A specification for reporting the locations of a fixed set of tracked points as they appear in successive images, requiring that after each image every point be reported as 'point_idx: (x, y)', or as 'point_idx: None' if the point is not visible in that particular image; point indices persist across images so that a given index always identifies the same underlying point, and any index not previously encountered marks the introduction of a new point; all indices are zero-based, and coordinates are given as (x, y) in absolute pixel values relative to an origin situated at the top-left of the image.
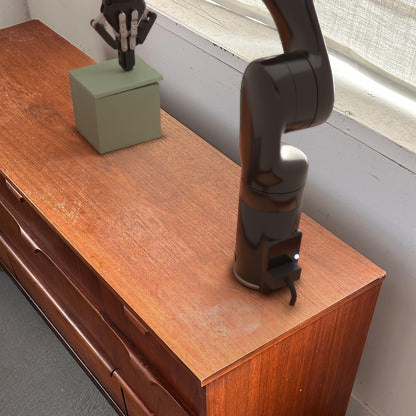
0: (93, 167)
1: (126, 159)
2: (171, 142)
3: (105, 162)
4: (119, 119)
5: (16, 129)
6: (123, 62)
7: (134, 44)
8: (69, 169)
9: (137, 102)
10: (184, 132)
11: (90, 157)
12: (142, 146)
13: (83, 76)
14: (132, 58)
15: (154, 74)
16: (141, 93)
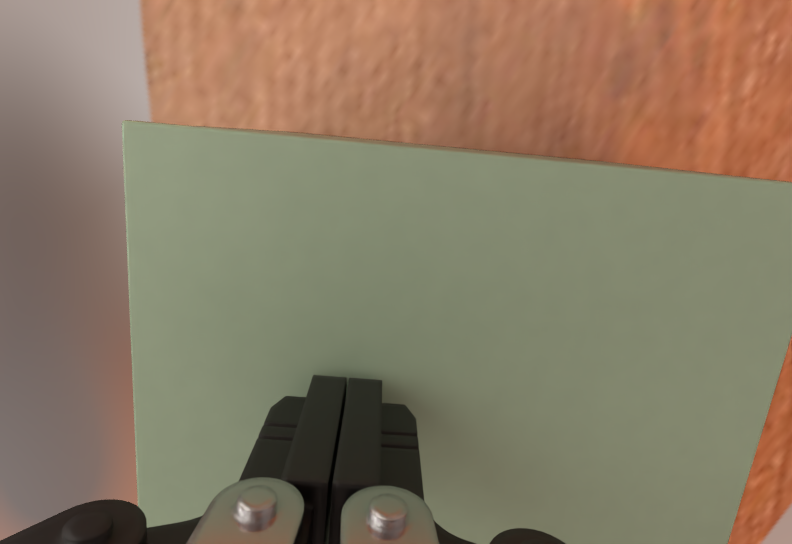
0: (698, 79)
1: (539, 50)
2: (269, 58)
3: (630, 85)
4: (538, 156)
5: (741, 515)
6: (396, 435)
7: (220, 522)
8: (786, 128)
9: (413, 145)
10: (162, 105)
11: (655, 164)
12: (409, 110)
13: (681, 504)
14: (298, 424)
15: (181, 198)
16: (376, 142)
